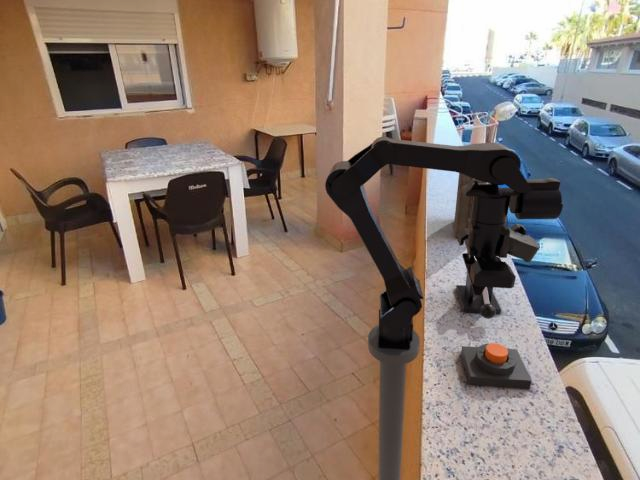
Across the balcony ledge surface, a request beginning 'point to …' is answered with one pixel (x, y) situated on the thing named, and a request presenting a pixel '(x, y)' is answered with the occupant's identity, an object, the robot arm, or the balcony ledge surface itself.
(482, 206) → the robot arm
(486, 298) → the lever
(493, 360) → the button
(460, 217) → the brown upright rectangular block
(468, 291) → the switch mount
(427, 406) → the balcony ledge surface
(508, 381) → the control block
